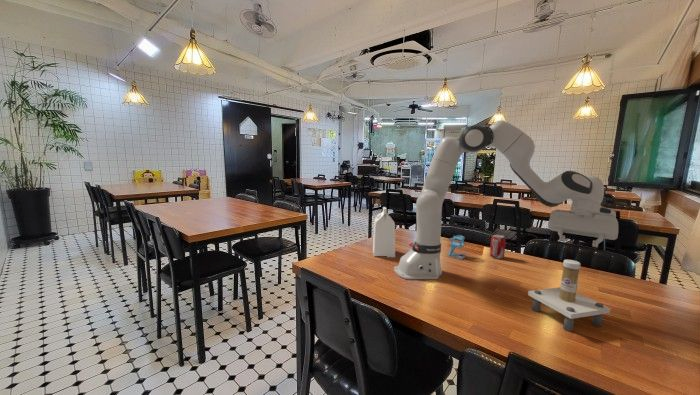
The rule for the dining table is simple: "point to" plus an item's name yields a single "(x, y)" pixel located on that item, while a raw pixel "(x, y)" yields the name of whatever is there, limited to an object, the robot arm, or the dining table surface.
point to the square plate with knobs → (569, 306)
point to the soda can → (497, 246)
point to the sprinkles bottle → (569, 280)
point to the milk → (384, 235)
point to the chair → (456, 244)
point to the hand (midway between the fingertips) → (577, 243)
